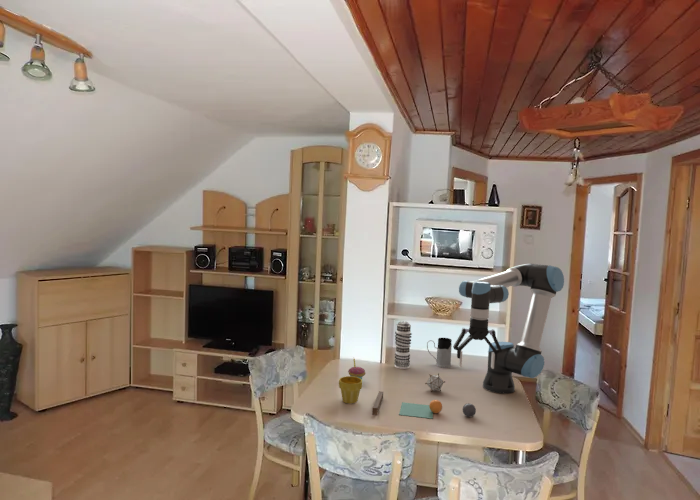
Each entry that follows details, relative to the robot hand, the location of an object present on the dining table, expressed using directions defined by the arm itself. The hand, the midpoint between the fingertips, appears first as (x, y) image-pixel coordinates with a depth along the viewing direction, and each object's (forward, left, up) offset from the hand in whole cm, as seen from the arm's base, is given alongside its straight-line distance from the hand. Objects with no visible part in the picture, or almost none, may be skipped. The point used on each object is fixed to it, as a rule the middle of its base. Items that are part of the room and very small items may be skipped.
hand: (476, 366), depth 210 cm
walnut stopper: (+41, +4, -20) cm, 46 cm away
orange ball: (+16, +4, -18) cm, 24 cm away
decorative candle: (+36, -56, -21) cm, 69 cm away
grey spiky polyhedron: (+17, -23, -21) cm, 35 cm away
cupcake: (+56, -25, -21) cm, 65 cm away
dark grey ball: (+2, +4, -18) cm, 18 cm away
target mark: (+24, +4, -20) cm, 32 cm away
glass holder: (+16, -66, -21) cm, 71 cm away
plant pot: (+54, +2, -21) cm, 58 cm away
